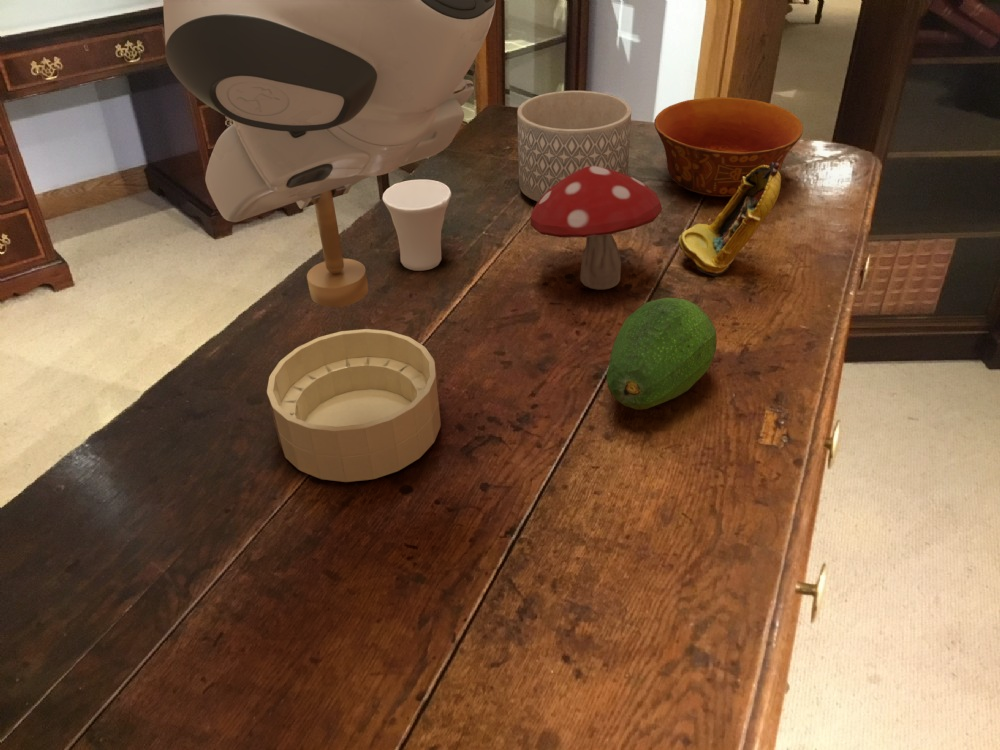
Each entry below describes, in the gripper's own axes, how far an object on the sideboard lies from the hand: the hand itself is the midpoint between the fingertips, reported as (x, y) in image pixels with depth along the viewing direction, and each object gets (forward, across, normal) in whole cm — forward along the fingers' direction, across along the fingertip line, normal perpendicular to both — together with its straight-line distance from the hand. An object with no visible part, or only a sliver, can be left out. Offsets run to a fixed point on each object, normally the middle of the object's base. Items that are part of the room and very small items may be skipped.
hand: (318, 193), depth 72 cm
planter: (+38, -54, 0) cm, 66 cm away
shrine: (+17, -53, +21) cm, 59 cm away
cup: (+36, -25, +1) cm, 44 cm away
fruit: (+8, -27, +30) cm, 41 cm away
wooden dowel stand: (+6, 0, +7) cm, 9 cm away
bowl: (+28, -72, +9) cm, 78 cm away
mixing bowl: (+18, 0, +19) cm, 26 cm away
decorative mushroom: (+23, -38, +15) cm, 47 cm away
